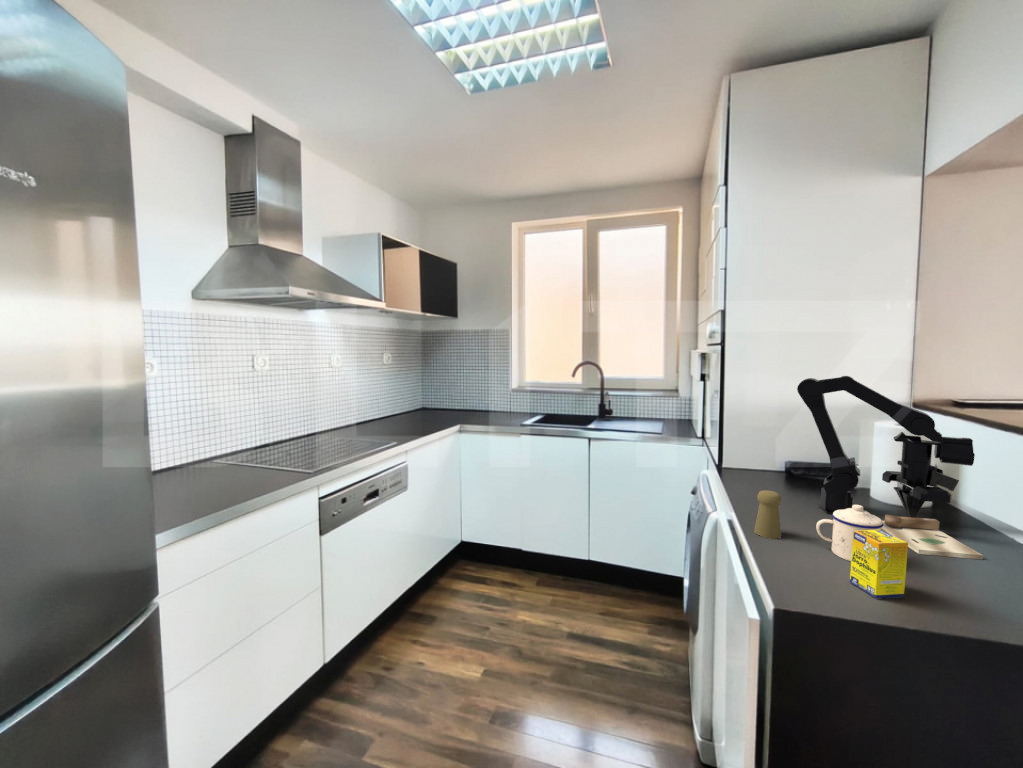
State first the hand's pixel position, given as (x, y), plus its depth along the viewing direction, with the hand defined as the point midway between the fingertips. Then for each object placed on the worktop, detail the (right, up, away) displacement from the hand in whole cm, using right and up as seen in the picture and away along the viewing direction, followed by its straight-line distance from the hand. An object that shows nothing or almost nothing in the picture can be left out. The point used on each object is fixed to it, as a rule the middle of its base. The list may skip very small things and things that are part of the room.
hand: (911, 517), depth 118 cm
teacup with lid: (-30, -4, -17) cm, 34 cm away
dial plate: (-5, -3, -9) cm, 11 cm away
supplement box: (-36, -5, -32) cm, 48 cm away
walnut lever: (-4, -1, -4) cm, 6 cm away
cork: (-42, -3, -5) cm, 42 cm away
